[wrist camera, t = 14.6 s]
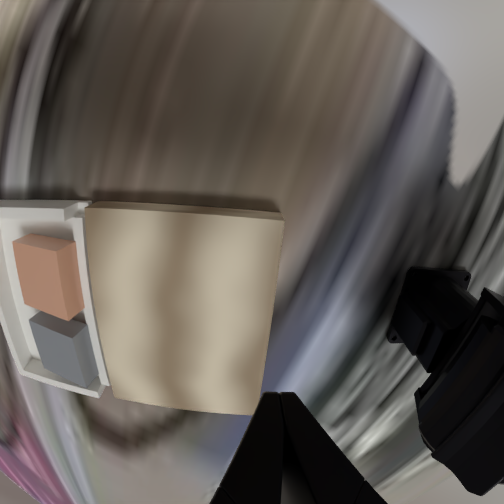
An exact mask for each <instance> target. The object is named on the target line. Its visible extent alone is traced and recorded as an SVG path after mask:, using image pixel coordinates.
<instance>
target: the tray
mask: <svg viewBox="0 0 504 504" xmlns="http://www.w3.org/2000/svg"><path fill="white" fill-rule="evenodd" d="M91 204H92V201H83V200H0V322H1V325H2V328H3V331H4V334H5V337H6V340H7V342H8V345H9V348H10V350H11V353H12V356H13V358H14V361H15V363H16V366H17V368H18V370H19V373H20V374H21V375H24V376H26V377H29V378H32V379H35V380H38V381H41V382H44V383H47V384H50V385H53V386H56V387H60V388H63V389H66V390H70V391H73V392H77V393H80V394H84V395H88V396H92V397H96V398H100V396H101V394H102V392H103V390H104V388H105V386H110V385H111V382H110V378H109V374H108V370H107V366H106V362H105V358H104V353H103V349H102V344H101V339H100V334H99V329H98V324H97V318H96V312H95V306H94V300H93V293H92V286H91V279H90V271H89V262H88V252H87V241H86V227H85V209H84V208H85V207H87V206H89V205H91ZM30 233H32V234H37V235H43V236H48V237H54V238H59V239H65V240H70V241H76V250H77V259H78V267H79V274H80V281H81V288H82V294H83V300H84V306H85V308H84V309H83V310H82V311H80V312H79V313H78V314H77V315H76V316H74V317H73V318H72V319H73V320H76V321H79V322H82V323H84V324H87V325H88V329H89V334H90V338H91V343H92V347H93V352H94V356H95V360H96V364H97V368H98V371H99V374H98V376H97V377H96V378H95V379H94V380H93V382H92V383H91V384H90V385H89V386H88V388H85V387H83V386H80V385H78V384H76V383H74V382H72V381H70V380H67V379H65V378H63V377H61V376H59V375H57V374H55V373H53V372H51V371H49V370H47V369H45V368H44V366H43V364H42V361H41V358H40V355H39V352H38V349H37V346H36V343H35V340H34V337H33V334H32V330H31V327H30V323H29V319H30V318H32V317H33V316H34V315H36V314H37V313H38V312H40V310H38V309H35V308H33V307H31V306H28V305H26V304H24V300H23V296H22V291H21V287H20V282H19V278H18V273H17V268H16V262H15V256H14V250H13V244H12V241H14V240H16V239H19V238H21V237H23V236H25V235H28V234H30Z"/></svg>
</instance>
